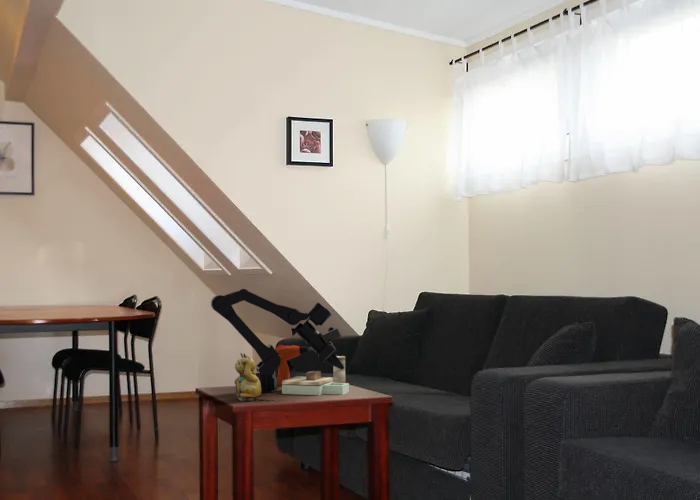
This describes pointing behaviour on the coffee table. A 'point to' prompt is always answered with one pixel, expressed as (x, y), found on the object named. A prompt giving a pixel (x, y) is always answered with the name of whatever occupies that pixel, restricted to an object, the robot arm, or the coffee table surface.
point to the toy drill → (285, 355)
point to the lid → (309, 379)
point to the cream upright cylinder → (339, 372)
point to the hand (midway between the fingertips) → (343, 368)
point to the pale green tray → (316, 389)
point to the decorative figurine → (246, 379)
